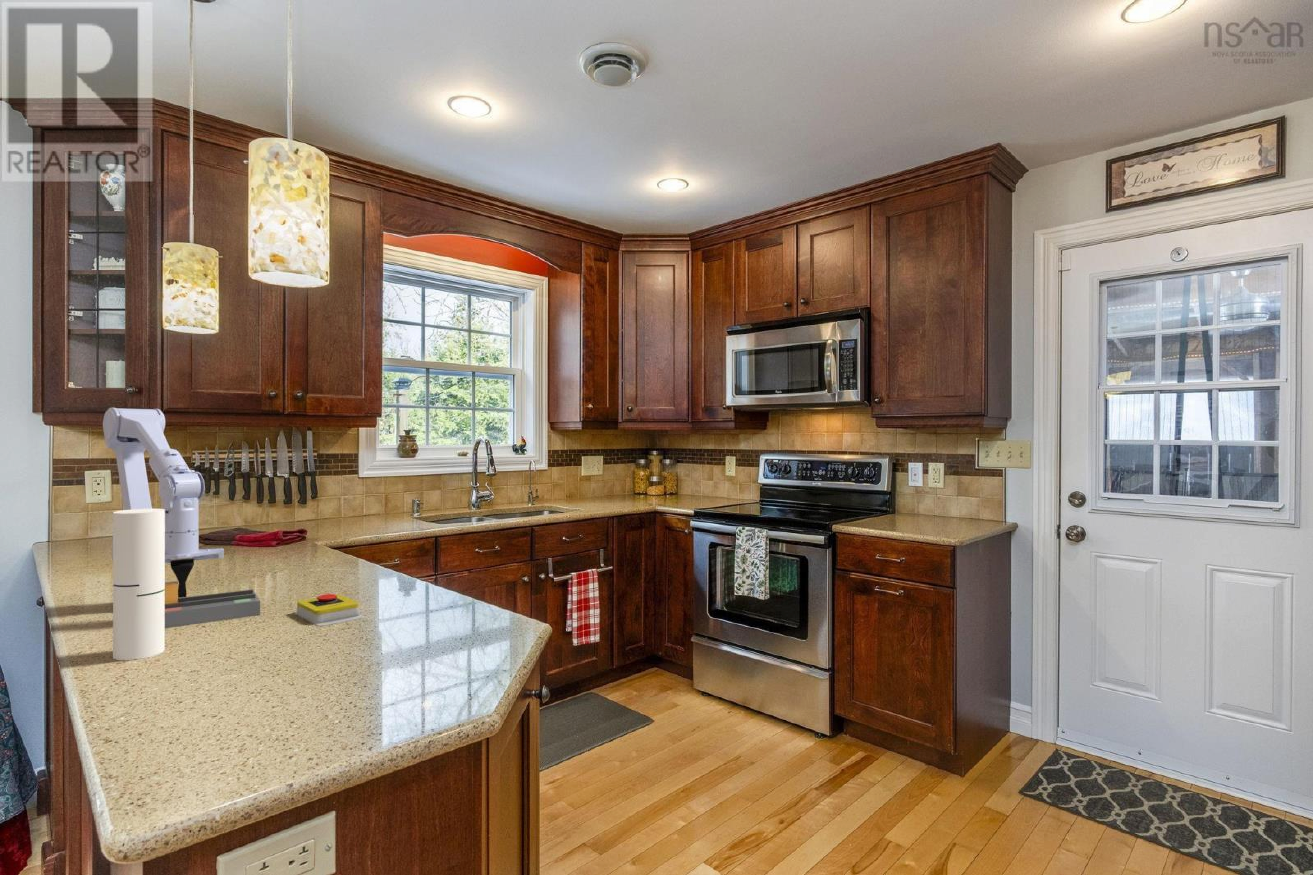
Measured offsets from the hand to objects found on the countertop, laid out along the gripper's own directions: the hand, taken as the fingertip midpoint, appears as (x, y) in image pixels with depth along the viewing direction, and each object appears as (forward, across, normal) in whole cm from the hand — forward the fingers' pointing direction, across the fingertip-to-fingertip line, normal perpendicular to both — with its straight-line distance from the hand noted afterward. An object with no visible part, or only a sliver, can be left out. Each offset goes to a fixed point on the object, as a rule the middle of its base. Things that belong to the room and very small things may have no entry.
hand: (181, 596), depth 139 cm
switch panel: (+5, +4, 0) cm, 6 cm away
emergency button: (+5, +25, -14) cm, 29 cm away
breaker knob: (+1, -2, 0) cm, 3 cm away
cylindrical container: (+5, -7, -22) cm, 23 cm away
